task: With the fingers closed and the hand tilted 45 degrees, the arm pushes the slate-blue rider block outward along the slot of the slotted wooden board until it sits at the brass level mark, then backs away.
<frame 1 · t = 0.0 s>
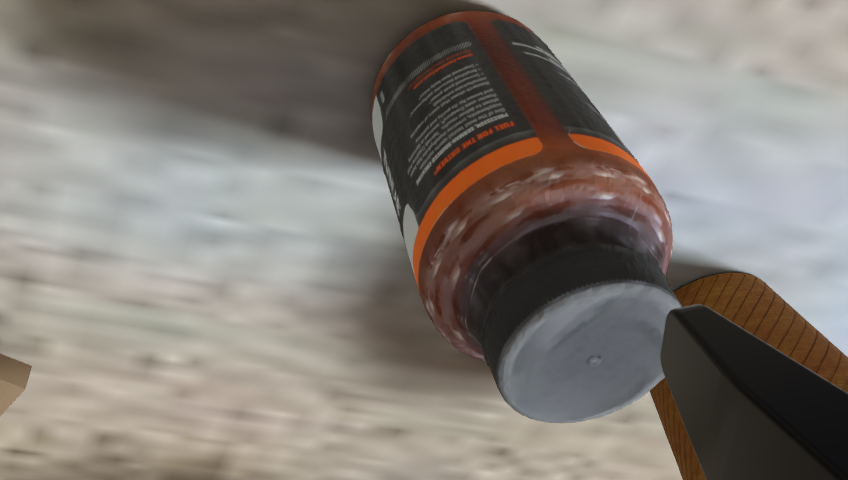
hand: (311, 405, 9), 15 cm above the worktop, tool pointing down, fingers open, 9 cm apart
disposable coffee cup: (701, 324, 33), on the worktop
supplement bottle: (460, 93, 24), on the worktop
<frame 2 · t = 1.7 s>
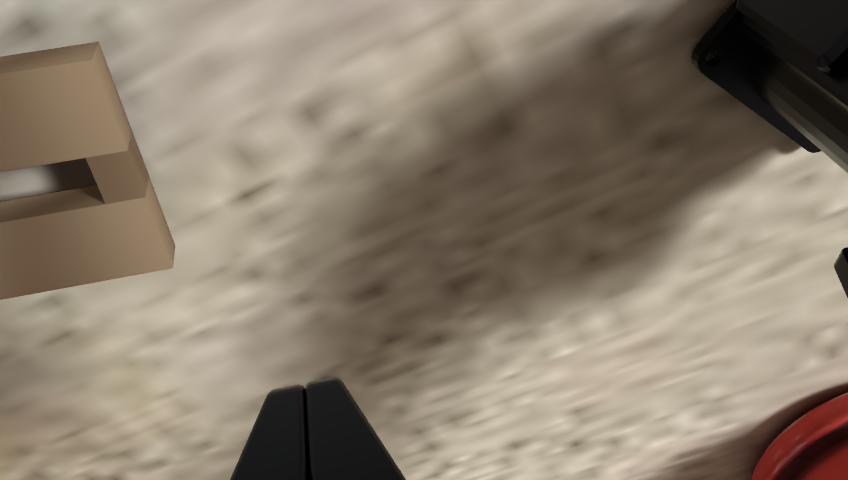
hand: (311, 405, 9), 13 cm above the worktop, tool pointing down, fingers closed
plant pot: (840, 435, 38), on the worktop
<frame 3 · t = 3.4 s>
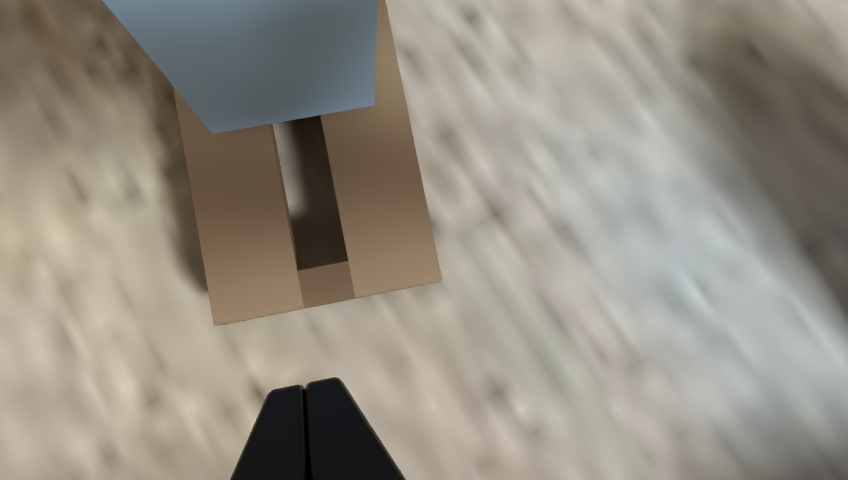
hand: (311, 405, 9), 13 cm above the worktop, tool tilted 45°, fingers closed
slotted wooden board: (278, 16, 23), on the worktop
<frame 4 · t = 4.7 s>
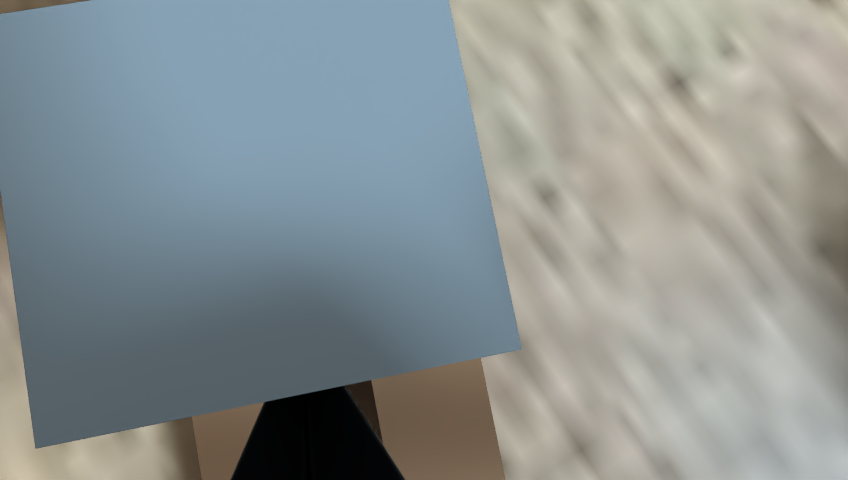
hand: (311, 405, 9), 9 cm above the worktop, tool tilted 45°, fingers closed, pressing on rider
rider: (298, 247, 12), point 6 cm above the worktop, slide at 0.0 cm, touching gripper
slotted wooden board: (308, 198, 19), on the worktop
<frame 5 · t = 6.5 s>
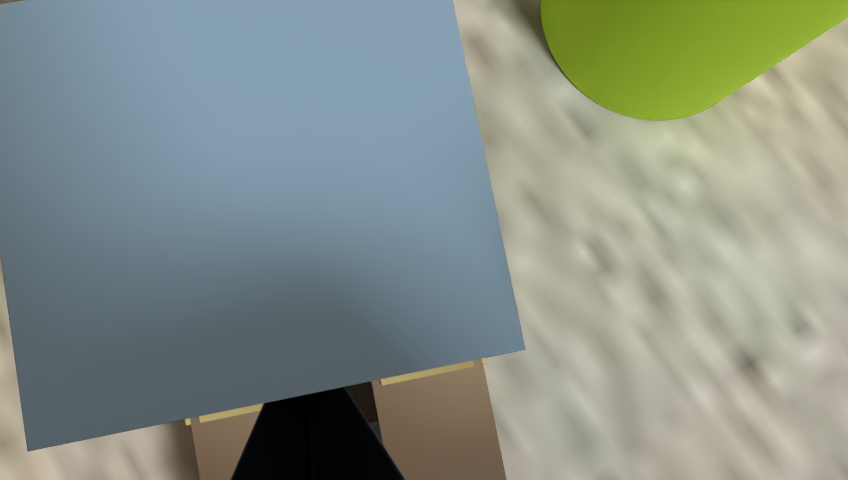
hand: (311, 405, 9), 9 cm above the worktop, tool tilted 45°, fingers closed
rider: (297, 243, 12), point 6 cm above the worktop, slide at 7.5 cm
soap dispenser: (661, 1, 20), on the worktop
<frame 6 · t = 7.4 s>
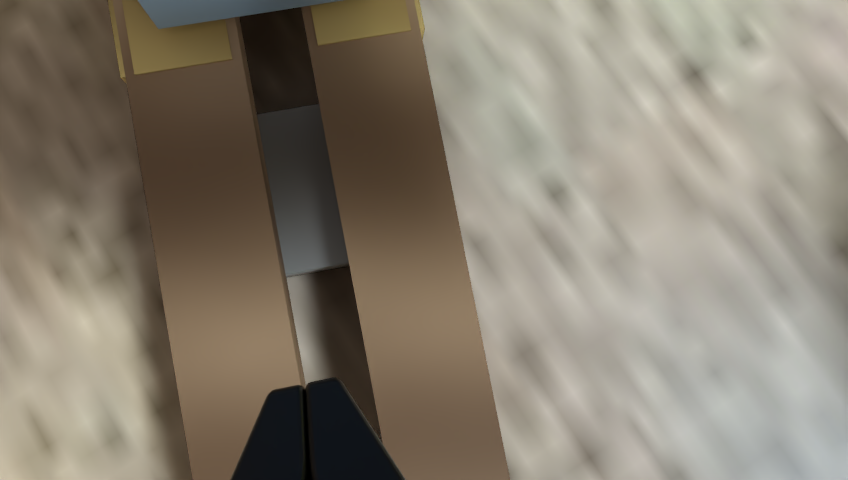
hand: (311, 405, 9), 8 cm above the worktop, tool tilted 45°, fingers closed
slotted wooden board: (306, 195, 18), on the worktop
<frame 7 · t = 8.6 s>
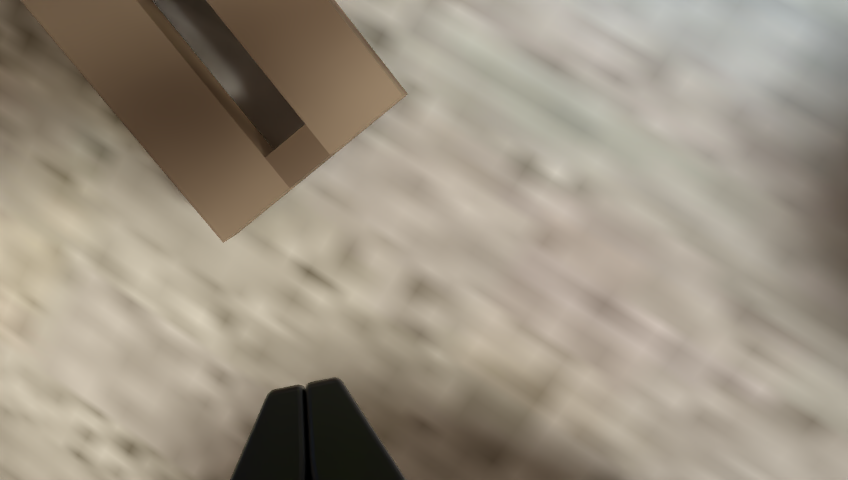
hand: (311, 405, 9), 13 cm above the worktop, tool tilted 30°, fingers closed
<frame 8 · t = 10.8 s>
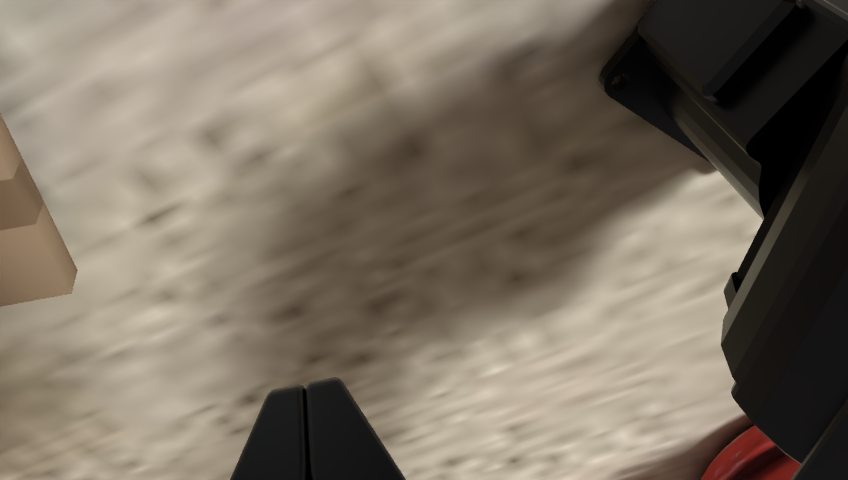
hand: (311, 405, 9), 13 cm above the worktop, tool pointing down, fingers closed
plant pot: (786, 450, 37), on the worktop
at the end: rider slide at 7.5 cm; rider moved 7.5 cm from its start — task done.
